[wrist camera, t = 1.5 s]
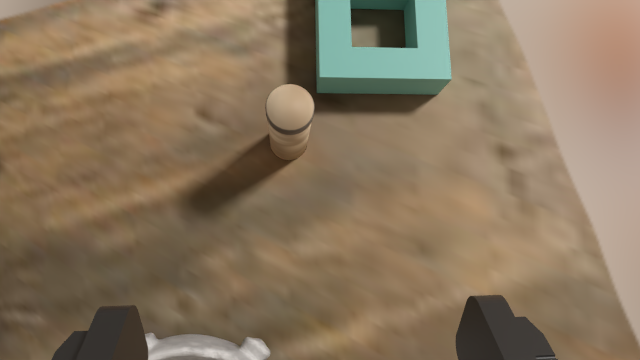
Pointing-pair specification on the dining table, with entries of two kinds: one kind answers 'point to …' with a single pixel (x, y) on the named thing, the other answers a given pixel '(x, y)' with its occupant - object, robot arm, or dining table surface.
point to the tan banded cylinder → (289, 120)
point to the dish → (204, 348)
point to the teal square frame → (382, 50)
